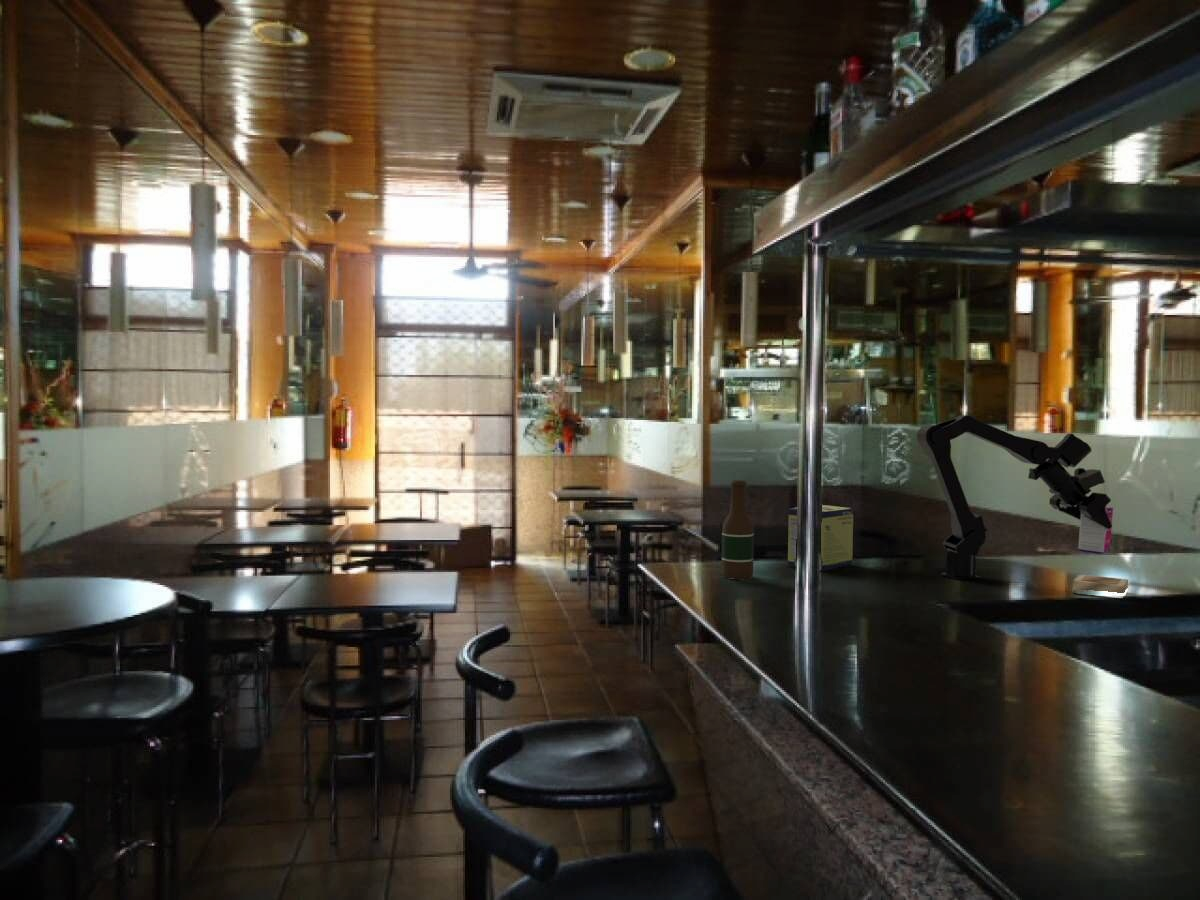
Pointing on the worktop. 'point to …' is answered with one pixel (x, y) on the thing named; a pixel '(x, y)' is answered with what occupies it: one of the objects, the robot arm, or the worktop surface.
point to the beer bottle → (737, 536)
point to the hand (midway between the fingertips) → (1101, 525)
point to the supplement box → (1094, 535)
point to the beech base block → (1100, 583)
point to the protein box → (828, 536)
